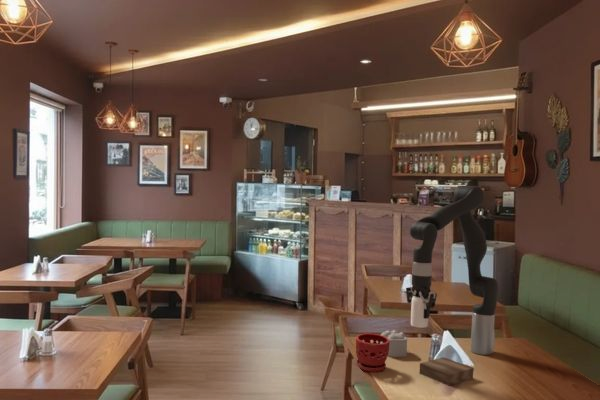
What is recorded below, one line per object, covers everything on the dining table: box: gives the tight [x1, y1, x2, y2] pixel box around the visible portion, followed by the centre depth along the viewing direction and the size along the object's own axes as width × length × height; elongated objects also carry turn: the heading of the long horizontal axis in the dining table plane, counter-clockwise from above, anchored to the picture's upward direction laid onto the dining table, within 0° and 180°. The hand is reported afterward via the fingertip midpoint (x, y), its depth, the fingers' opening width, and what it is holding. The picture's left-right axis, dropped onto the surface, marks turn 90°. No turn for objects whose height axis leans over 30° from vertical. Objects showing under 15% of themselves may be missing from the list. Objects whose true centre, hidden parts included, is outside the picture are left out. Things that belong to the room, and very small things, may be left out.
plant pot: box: [355, 332, 390, 373], centre depth 208 cm, size 13×13×12 cm
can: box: [410, 296, 429, 329], centre depth 208 cm, size 6×6×12 cm
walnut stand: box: [419, 356, 474, 386], centre depth 203 cm, size 14×14×4 cm
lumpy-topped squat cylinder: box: [380, 329, 408, 358], centre depth 230 cm, size 10×13×9 cm
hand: (420, 316), depth 208 cm, fingers closed on can, 5 cm apart
